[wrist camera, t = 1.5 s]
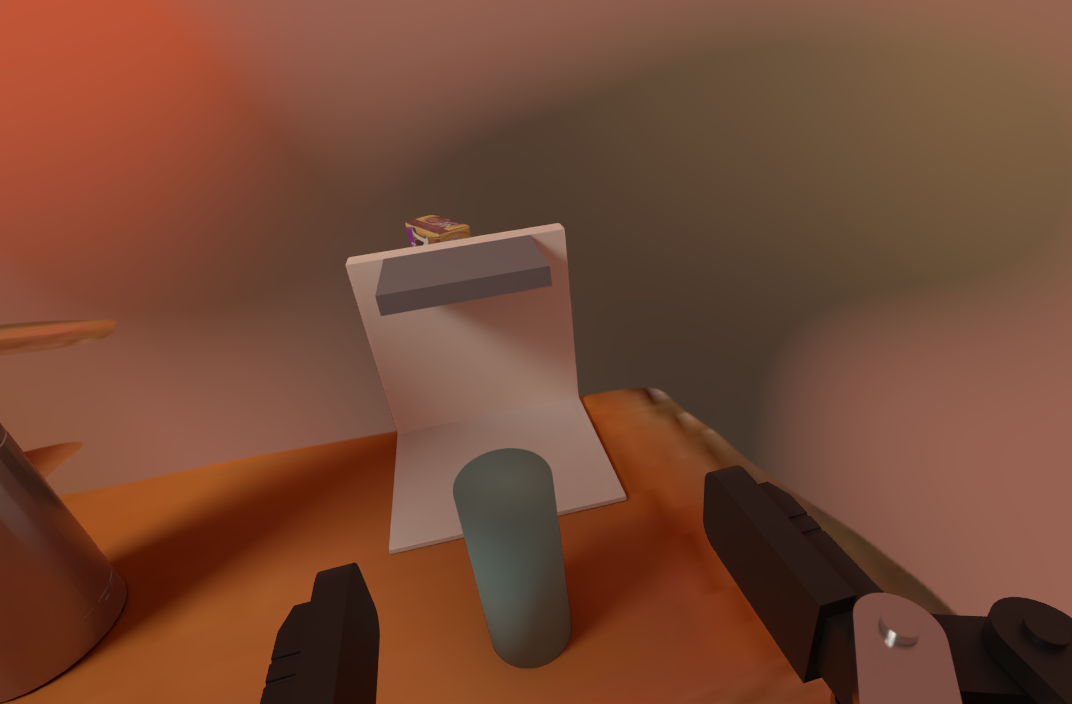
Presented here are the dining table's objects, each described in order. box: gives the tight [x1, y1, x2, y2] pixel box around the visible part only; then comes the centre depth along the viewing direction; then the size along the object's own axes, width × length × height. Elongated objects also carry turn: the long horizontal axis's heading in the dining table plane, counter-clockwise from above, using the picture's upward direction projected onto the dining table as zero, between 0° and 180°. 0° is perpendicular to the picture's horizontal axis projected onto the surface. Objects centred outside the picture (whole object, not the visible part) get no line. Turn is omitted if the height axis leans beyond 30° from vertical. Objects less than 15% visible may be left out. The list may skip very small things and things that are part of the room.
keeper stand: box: [346, 223, 626, 554], centre depth 41 cm, size 18×16×18 cm
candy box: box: [406, 215, 471, 247], centre depth 62 cm, size 9×4×15 cm, turn 36°
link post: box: [453, 448, 571, 668], centre depth 28 cm, size 5×5×12 cm
